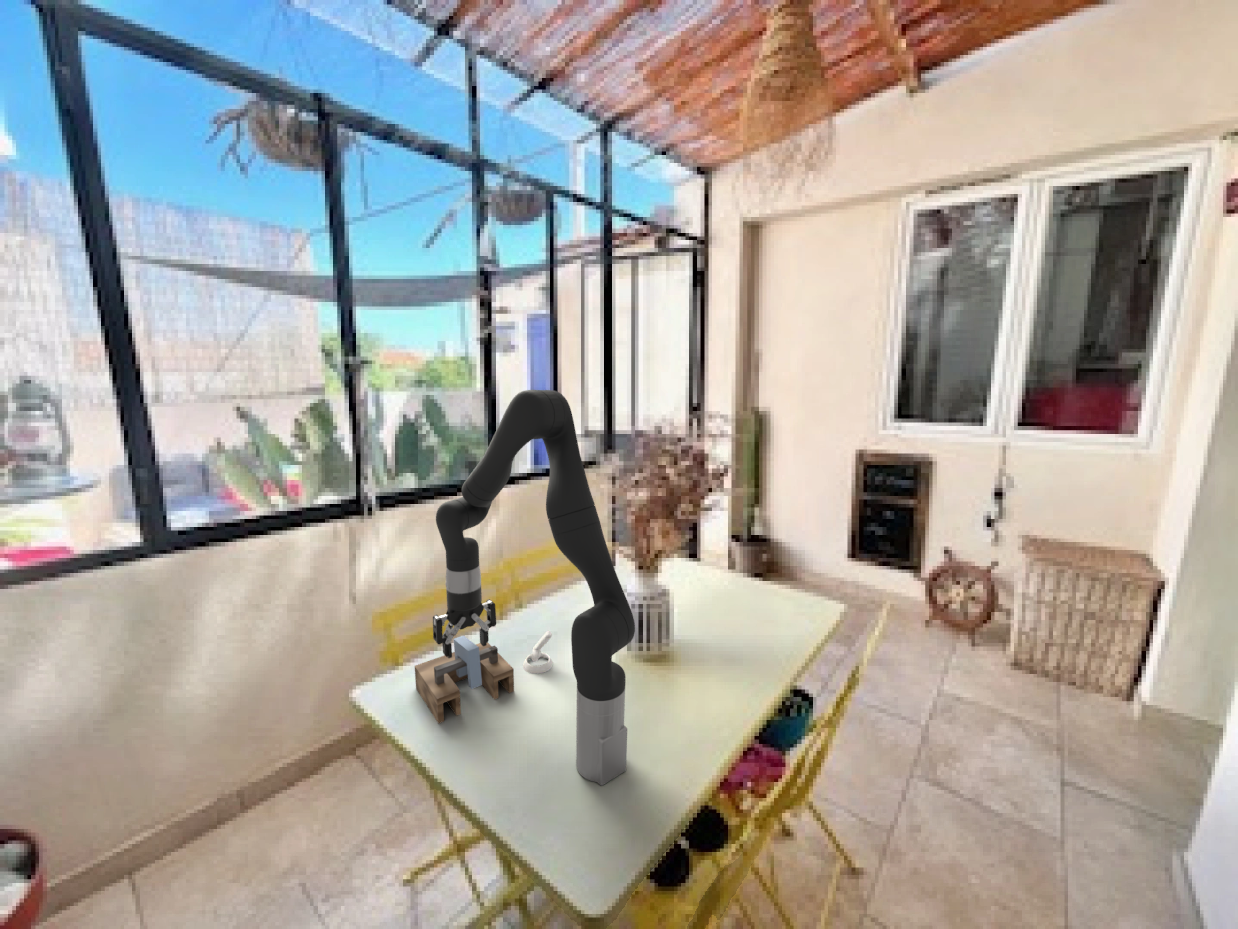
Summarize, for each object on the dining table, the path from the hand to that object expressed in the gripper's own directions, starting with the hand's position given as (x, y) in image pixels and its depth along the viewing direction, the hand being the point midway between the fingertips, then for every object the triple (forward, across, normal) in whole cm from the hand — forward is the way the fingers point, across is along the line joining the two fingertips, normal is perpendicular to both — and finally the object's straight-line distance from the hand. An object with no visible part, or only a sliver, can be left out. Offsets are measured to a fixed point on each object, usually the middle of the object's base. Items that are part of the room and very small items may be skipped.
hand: (466, 650), depth 116 cm
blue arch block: (+7, 0, -1) cm, 7 cm away
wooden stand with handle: (+11, 0, +2) cm, 12 cm away
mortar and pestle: (+12, +19, 0) cm, 22 cm away
